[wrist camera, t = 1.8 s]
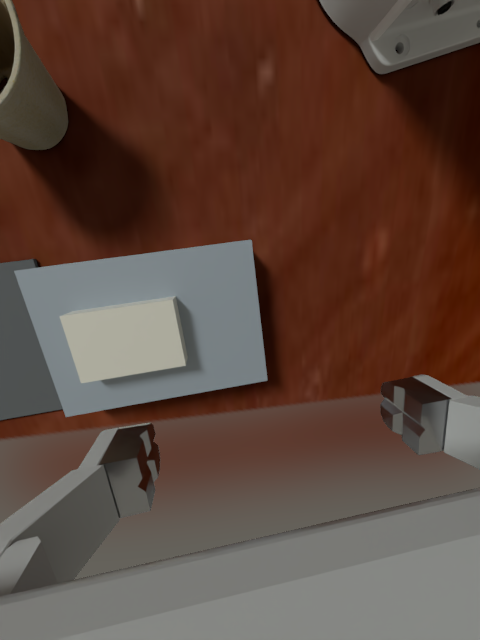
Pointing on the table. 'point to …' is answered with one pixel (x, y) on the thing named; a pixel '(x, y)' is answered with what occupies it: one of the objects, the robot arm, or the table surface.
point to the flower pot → (27, 90)
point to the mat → (21, 353)
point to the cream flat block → (125, 339)
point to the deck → (147, 284)
